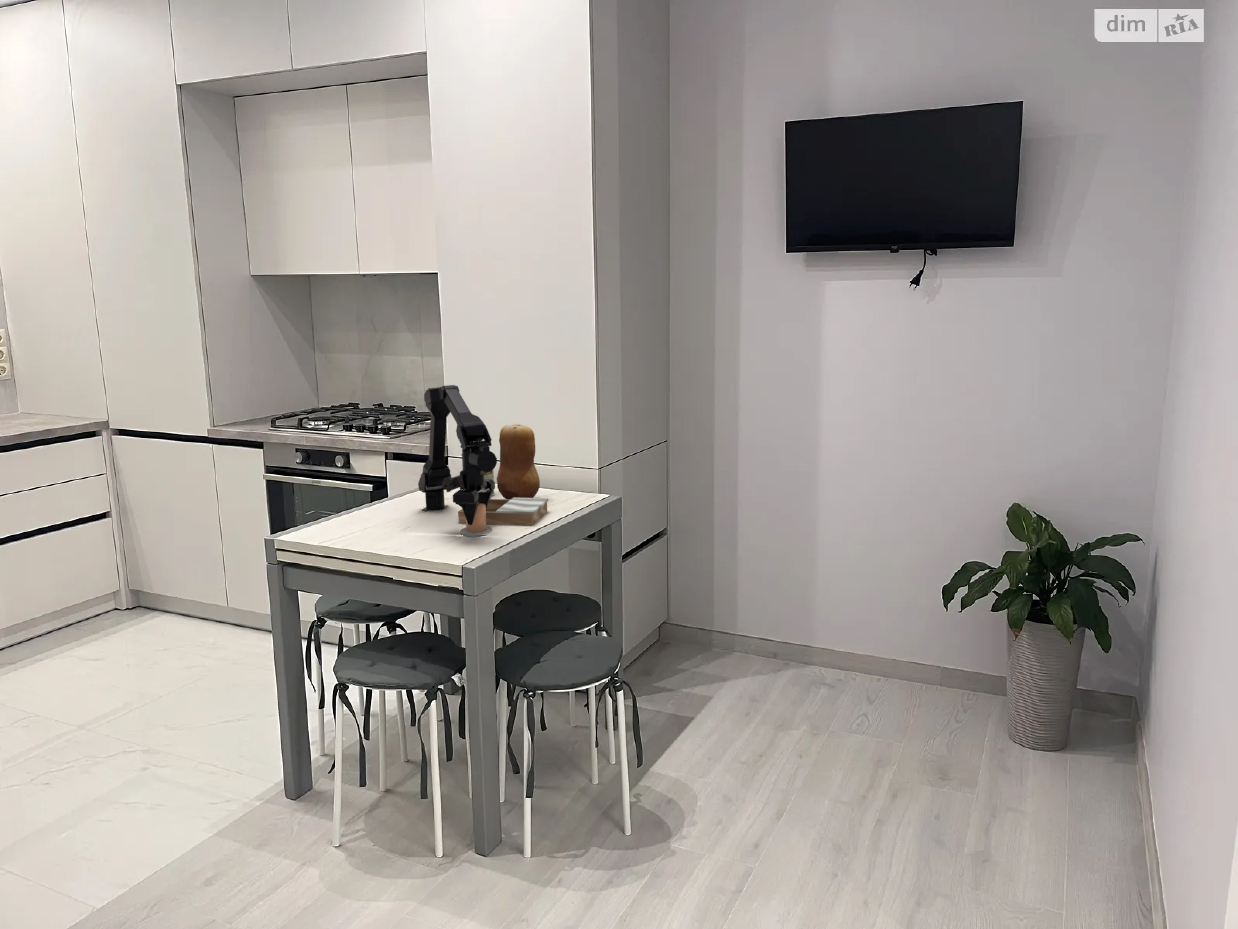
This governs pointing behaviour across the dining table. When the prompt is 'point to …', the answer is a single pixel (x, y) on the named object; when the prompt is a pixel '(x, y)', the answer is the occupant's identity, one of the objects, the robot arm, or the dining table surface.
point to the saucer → (477, 534)
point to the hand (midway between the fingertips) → (475, 520)
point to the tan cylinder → (478, 520)
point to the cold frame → (512, 511)
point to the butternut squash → (517, 463)
